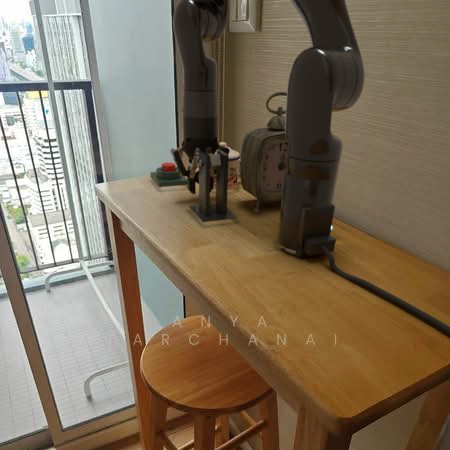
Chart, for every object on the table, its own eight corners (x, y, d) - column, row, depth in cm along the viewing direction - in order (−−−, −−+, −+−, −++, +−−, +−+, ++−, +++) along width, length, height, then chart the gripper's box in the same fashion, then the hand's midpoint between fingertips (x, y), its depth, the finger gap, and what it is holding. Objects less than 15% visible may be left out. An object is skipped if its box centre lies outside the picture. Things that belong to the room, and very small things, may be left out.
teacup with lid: (211, 195, 104) (212, 147, 98) (200, 184, 112) (200, 139, 105) (253, 191, 108) (257, 145, 102) (240, 181, 115) (242, 138, 109)
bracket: (188, 210, 94) (187, 148, 87) (221, 207, 97) (222, 146, 90) (203, 226, 87) (203, 160, 79) (237, 222, 89) (240, 157, 82)
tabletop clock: (251, 218, 91) (260, 94, 78) (234, 205, 98) (239, 89, 85) (306, 211, 97) (322, 93, 83) (286, 199, 104) (298, 89, 90)
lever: (193, 186, 96) (191, 173, 96) (206, 185, 97) (204, 172, 97) (209, 167, 84) (206, 152, 83) (224, 166, 85) (221, 151, 85)
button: (177, 172, 108) (177, 165, 107) (163, 173, 107) (163, 166, 106) (173, 168, 111) (173, 162, 110) (160, 169, 110) (160, 163, 109)
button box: (188, 188, 108) (188, 173, 106) (159, 191, 106) (158, 175, 104) (178, 178, 116) (178, 163, 114) (150, 180, 114) (149, 165, 111)
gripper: (173, 117, 82) (176, 200, 92) (237, 115, 87) (234, 194, 96) (163, 111, 88) (167, 190, 97) (224, 110, 93) (222, 185, 102)
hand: (200, 192), depth 97 cm, fingers closed on lever, 3 cm apart
